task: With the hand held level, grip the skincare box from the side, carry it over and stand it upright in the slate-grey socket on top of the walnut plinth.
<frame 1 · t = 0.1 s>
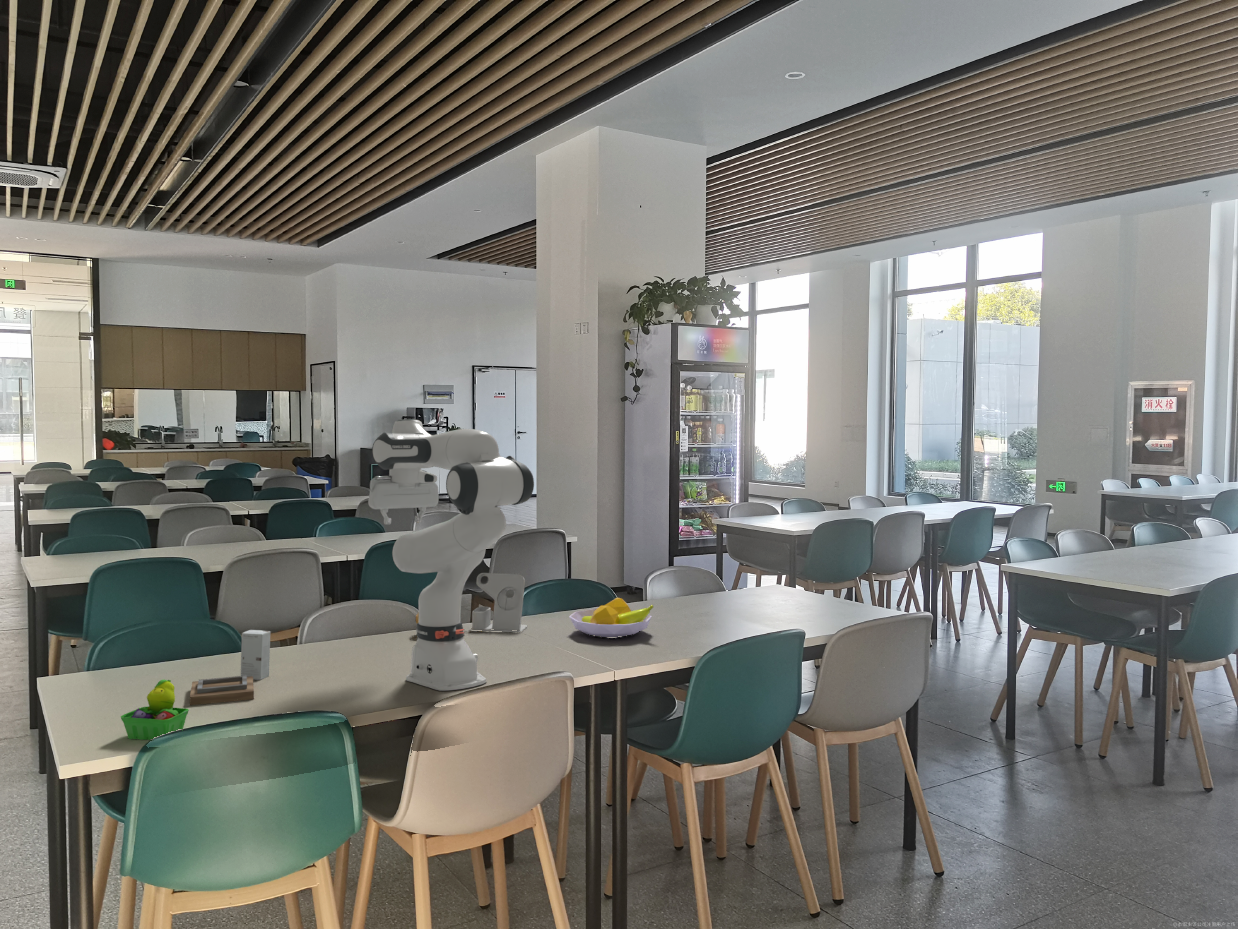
hand: (402, 523, 257), 39 cm above the table, tool pointing down, fingers open, 8 cm apart
socket plinth: (222, 694, 220), on the table
stress ball: (431, 635, 288), on the table
fruit bowl: (612, 635, 292), on the table
skincare box: (255, 678, 236), on the table
fruit basket: (157, 736, 191), on the table
phone holder: (499, 629, 298), on the table
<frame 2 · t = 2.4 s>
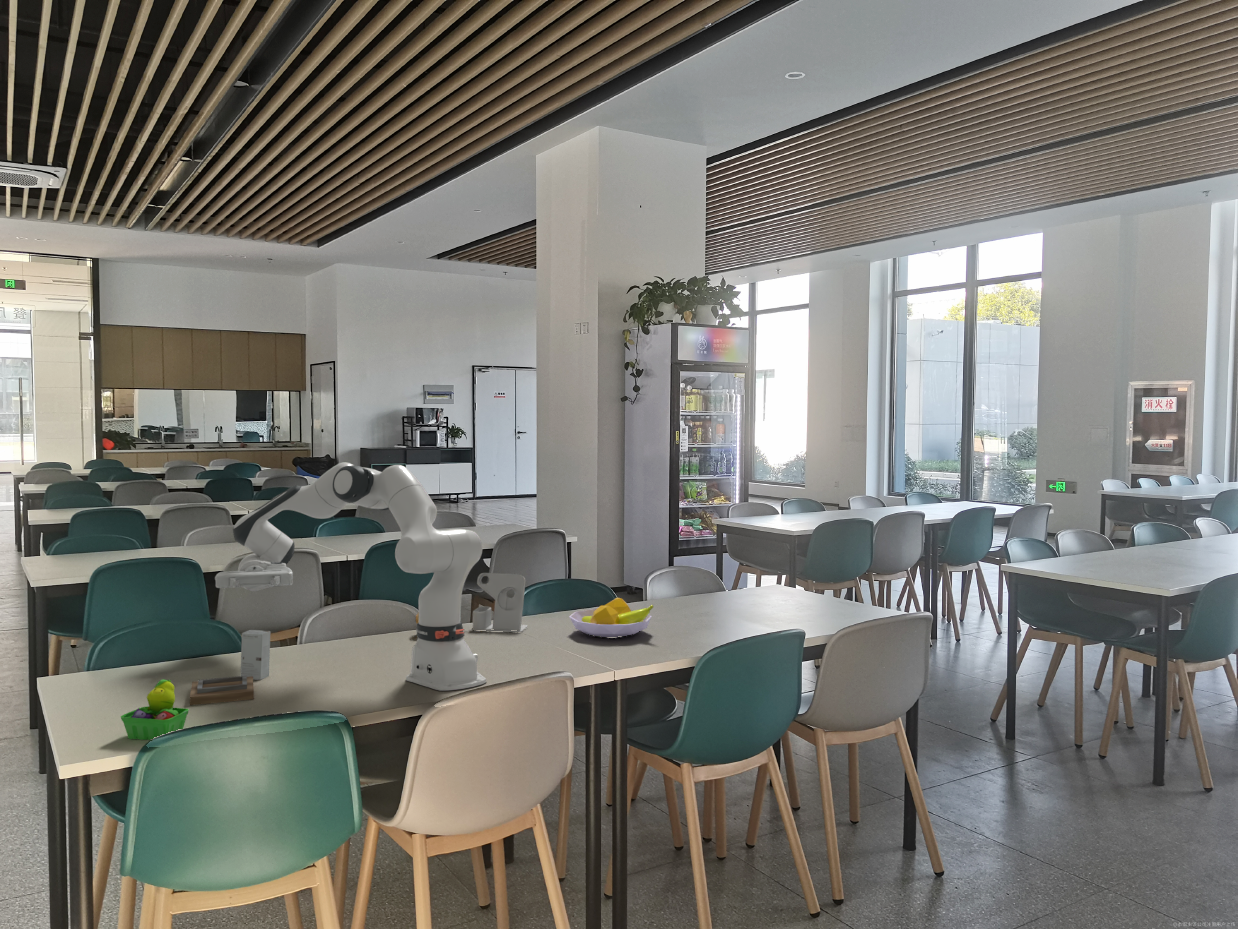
hand: (255, 583, 247), 23 cm above the table, tool horizontal, fingers open, 8 cm apart
nothing on the table moved.
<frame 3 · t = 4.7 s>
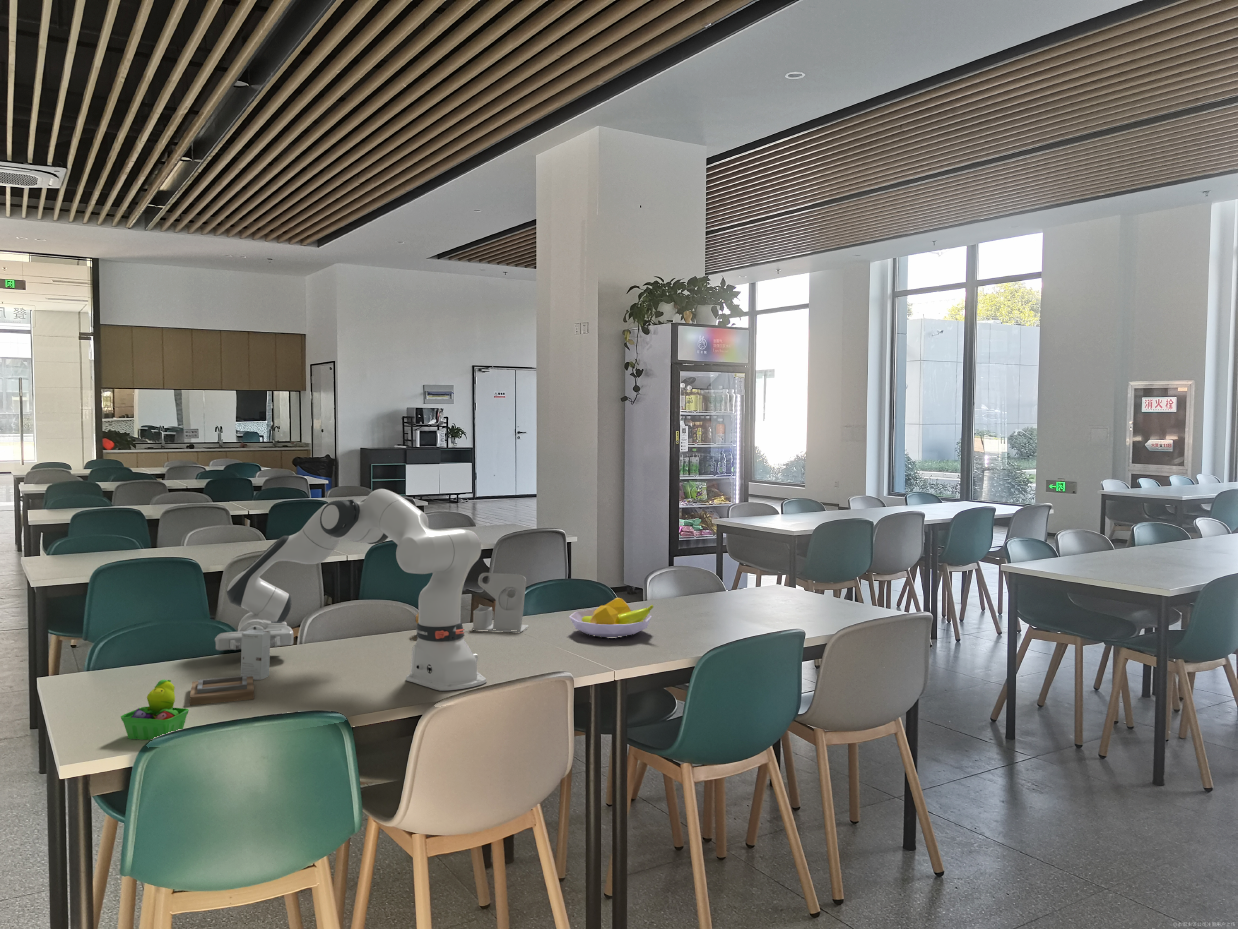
hand: (255, 645, 245), 6 cm above the table, tool horizontal, fingers open, 8 cm apart
nothing on the table moved.
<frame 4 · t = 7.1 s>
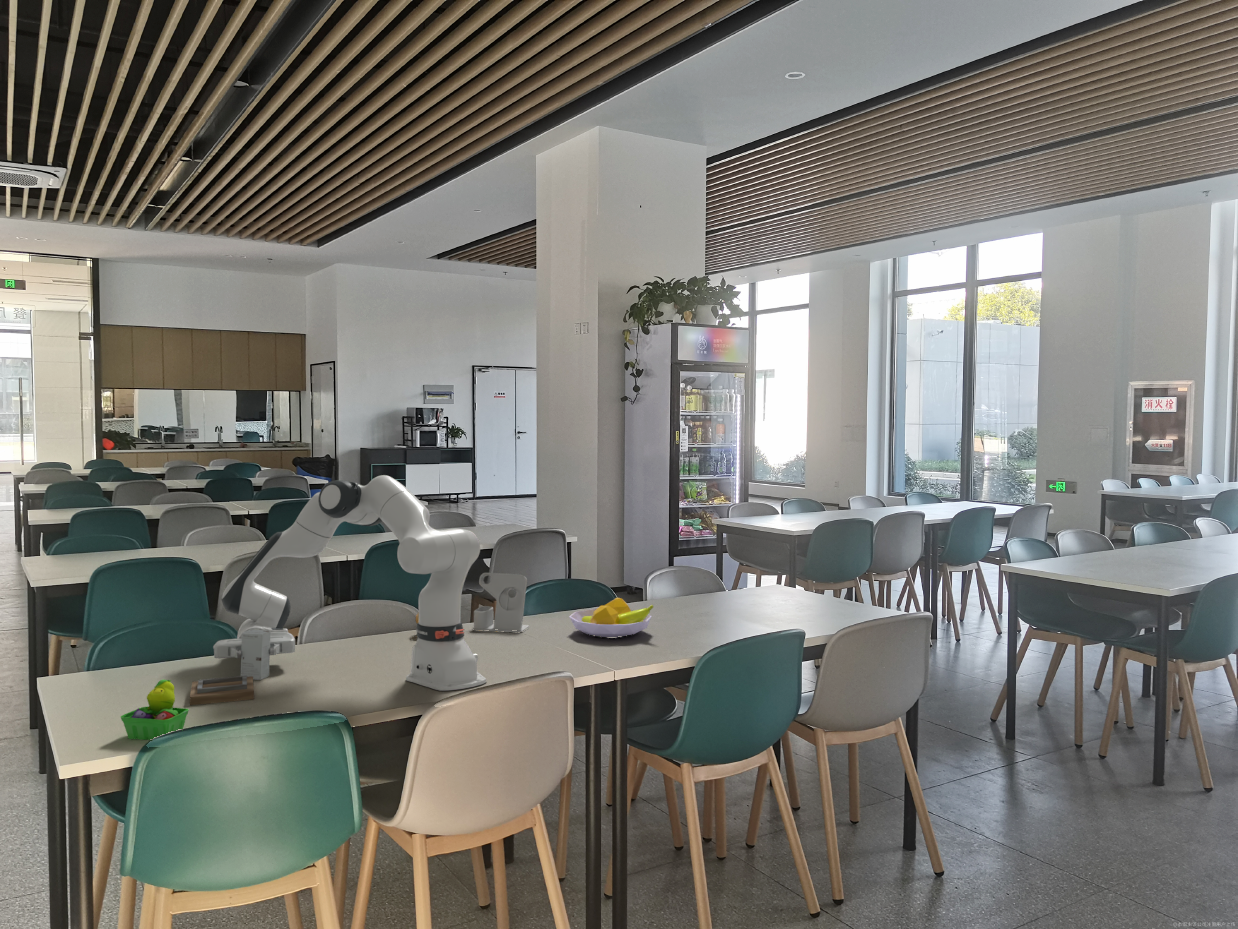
hand: (255, 653, 235), 7 cm above the table, tool horizontal, fingers closed on skincare box, 7 cm apart
skincare box: (255, 678, 236), on the table, touching gripper
everything else where it was.
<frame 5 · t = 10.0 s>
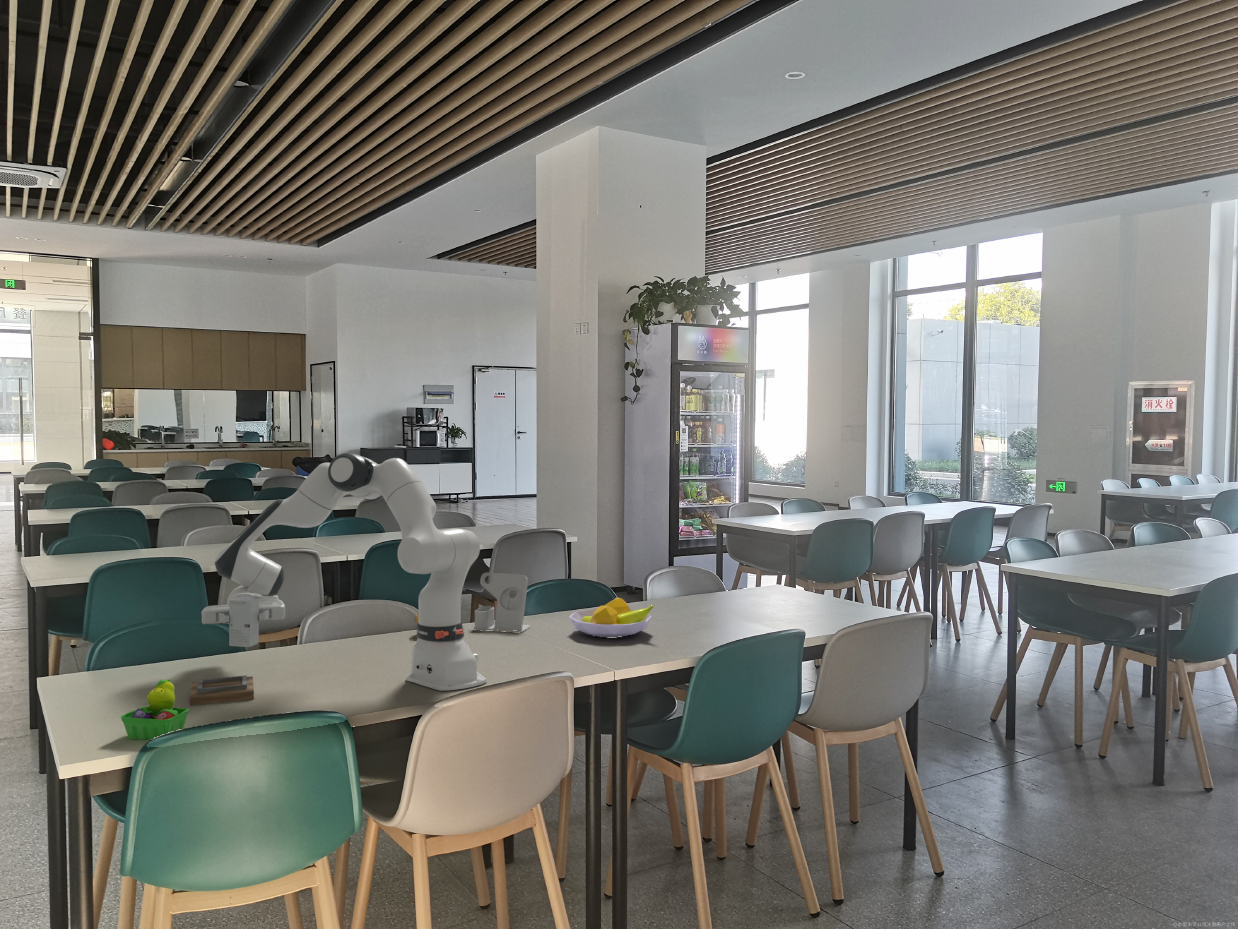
hand: (244, 618, 229), 17 cm above the table, tool horizontal, fingers closed on skincare box, 7 cm apart
skincare box: (244, 645, 230), point 10 cm above the table, touching gripper
everything else where it was.
when the fingers open (11 cm above the table, at t = 12.8 s): skincare box drops 2 cm, resting on socket plinth.
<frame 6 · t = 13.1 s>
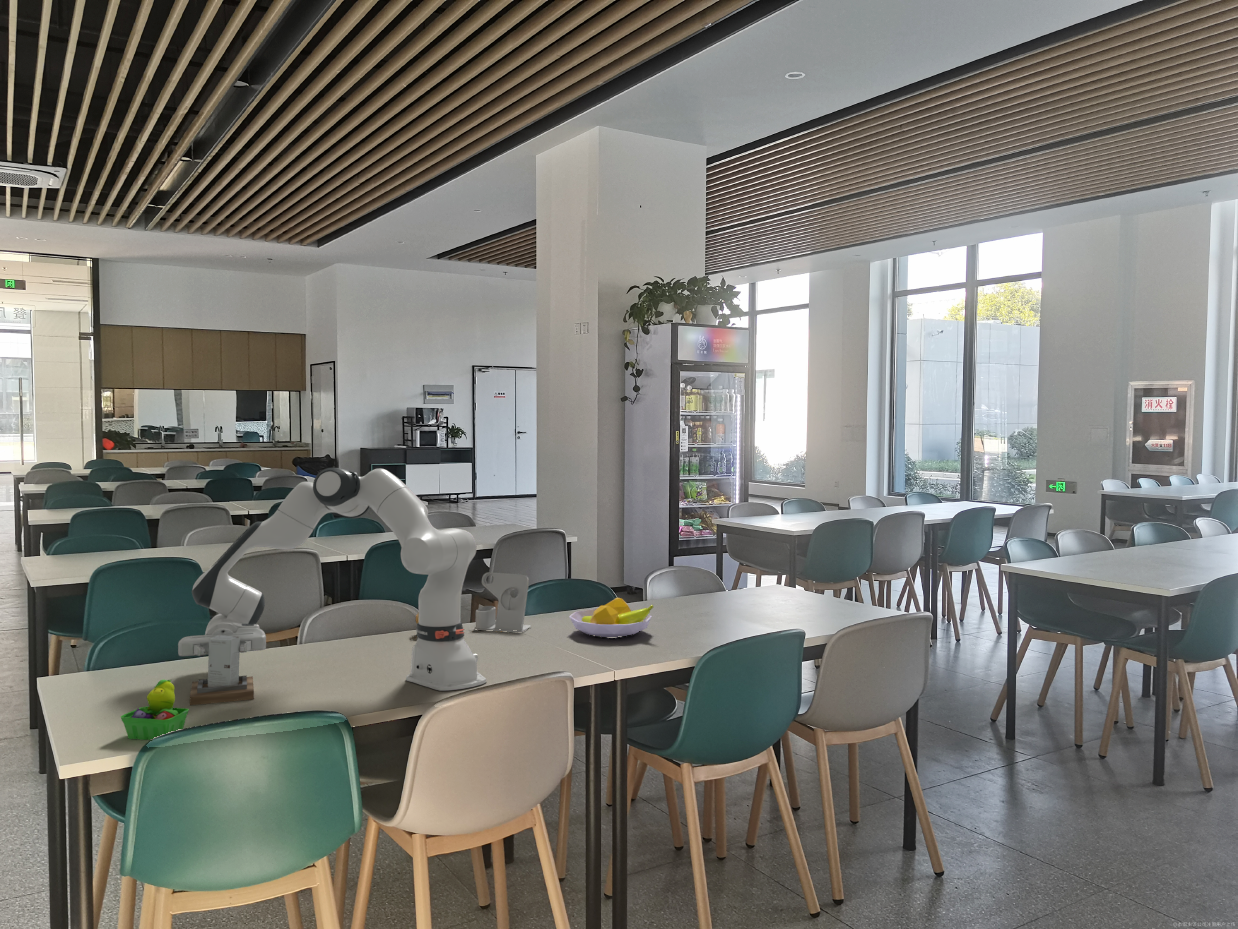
hand: (222, 651, 219), 11 cm above the table, tool horizontal, fingers open, 8 cm apart
skincare box: (224, 686, 221), point 2 cm above the table, touching socket plinth
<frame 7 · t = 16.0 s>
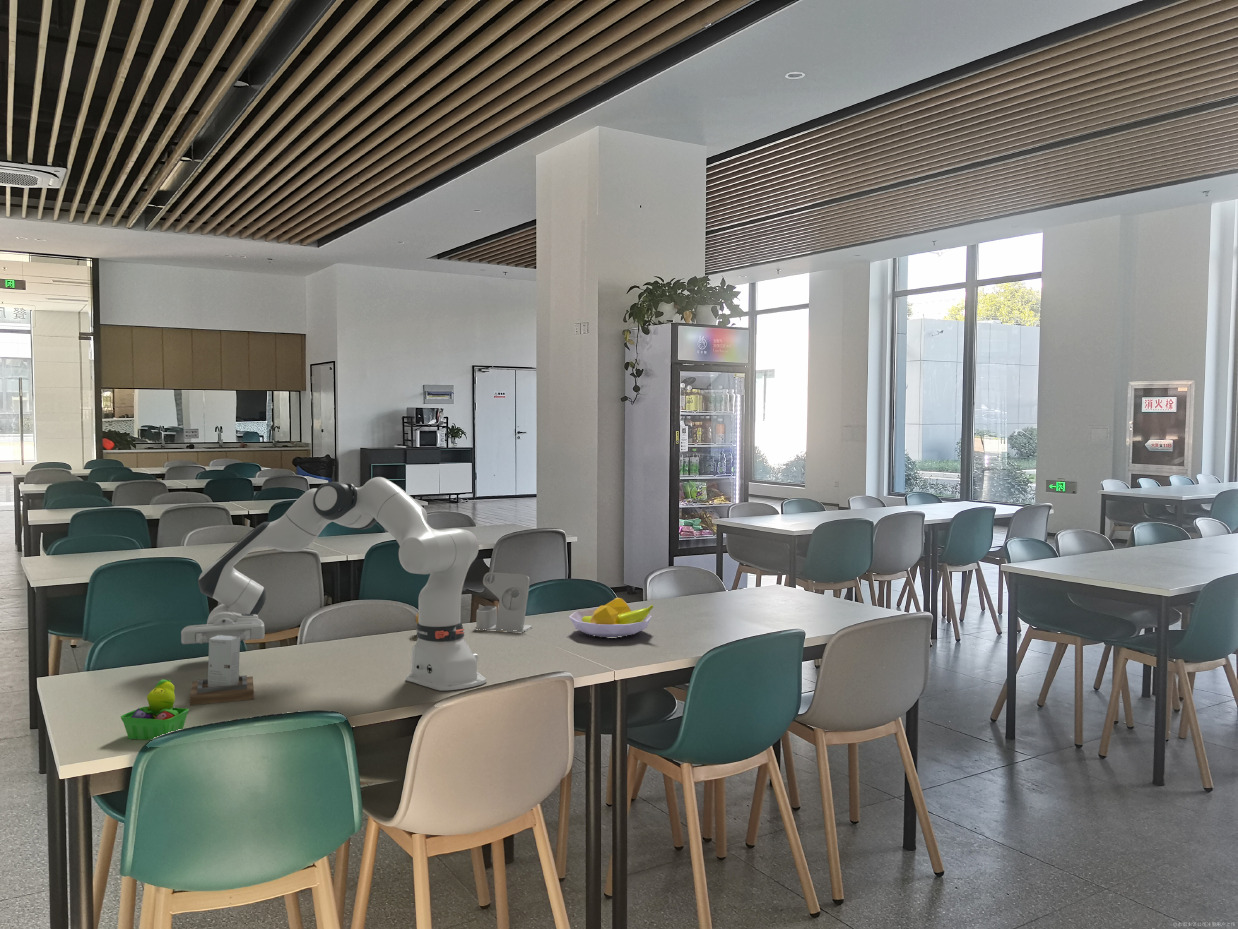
hand: (223, 639, 231), 11 cm above the table, tool horizontal, fingers open, 8 cm apart
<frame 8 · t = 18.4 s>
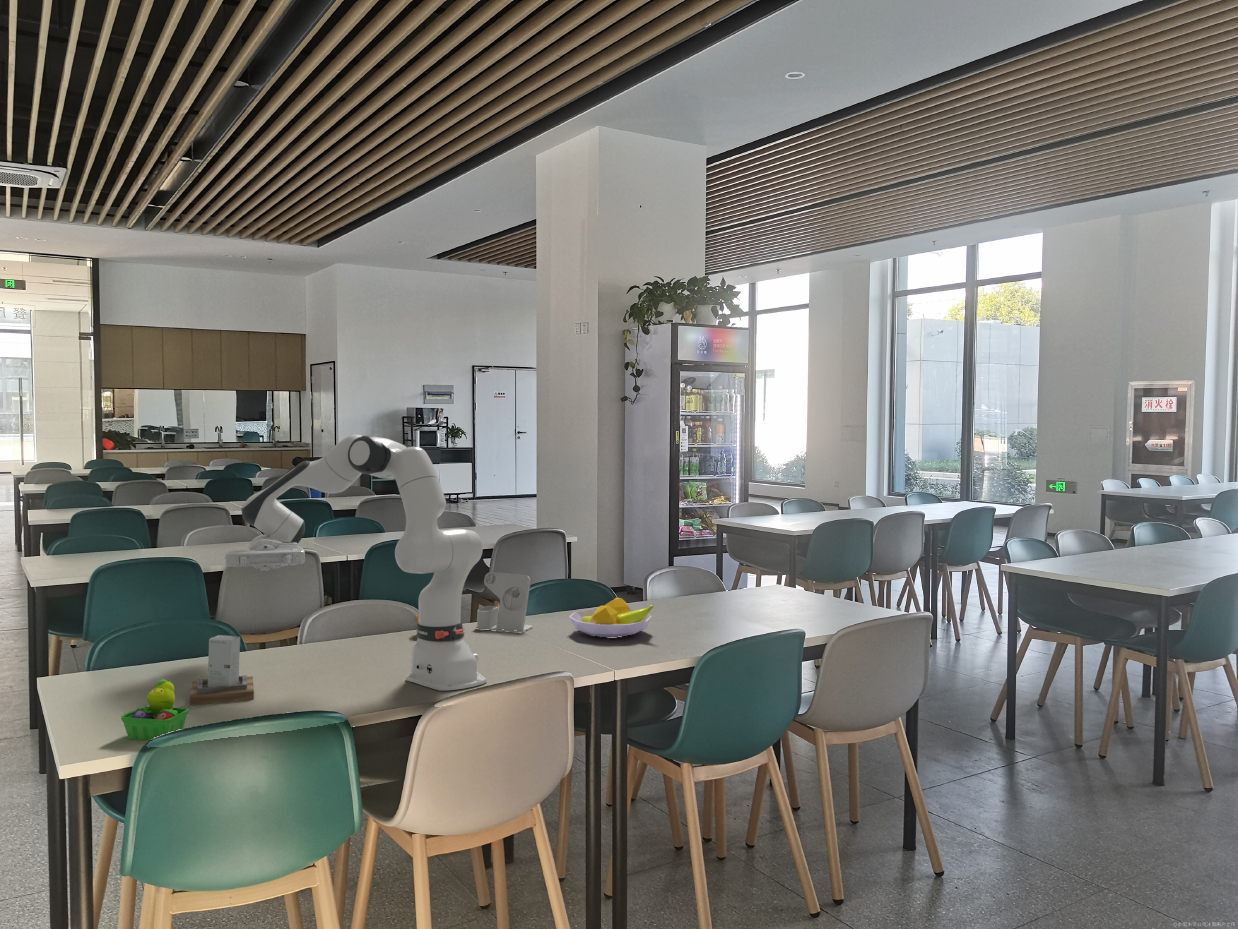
hand: (266, 561, 240), 30 cm above the table, tool horizontal, fingers open, 8 cm apart
at the end: skincare box 0.3 cm off-centre on the socket plinth, point 1.8 cm above the socket plinth's base; skincare box tilted 0°; the gripper is holding nothing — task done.
